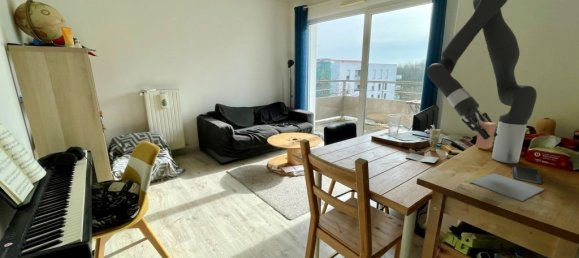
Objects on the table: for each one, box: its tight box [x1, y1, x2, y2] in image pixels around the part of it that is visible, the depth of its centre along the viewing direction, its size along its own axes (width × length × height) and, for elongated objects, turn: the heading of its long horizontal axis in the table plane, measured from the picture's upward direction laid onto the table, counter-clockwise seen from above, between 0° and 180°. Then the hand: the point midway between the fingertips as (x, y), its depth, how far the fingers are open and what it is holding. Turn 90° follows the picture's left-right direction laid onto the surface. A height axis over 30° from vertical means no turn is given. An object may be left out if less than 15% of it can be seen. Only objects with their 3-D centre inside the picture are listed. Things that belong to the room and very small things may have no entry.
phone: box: [512, 165, 543, 185], centre depth 96 cm, size 8×1×15 cm
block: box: [475, 121, 497, 150], centre depth 96 cm, size 4×4×10 cm
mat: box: [469, 172, 546, 202], centre depth 88 cm, size 16×15×1 cm
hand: (491, 137), depth 94 cm, fingers closed on block, 4 cm apart
